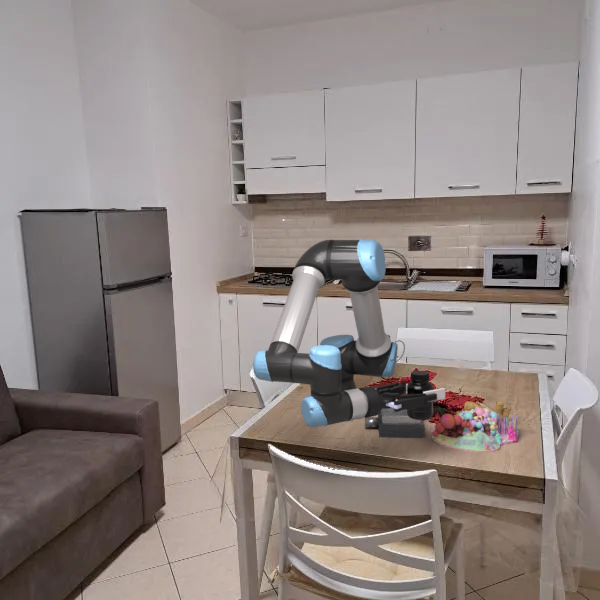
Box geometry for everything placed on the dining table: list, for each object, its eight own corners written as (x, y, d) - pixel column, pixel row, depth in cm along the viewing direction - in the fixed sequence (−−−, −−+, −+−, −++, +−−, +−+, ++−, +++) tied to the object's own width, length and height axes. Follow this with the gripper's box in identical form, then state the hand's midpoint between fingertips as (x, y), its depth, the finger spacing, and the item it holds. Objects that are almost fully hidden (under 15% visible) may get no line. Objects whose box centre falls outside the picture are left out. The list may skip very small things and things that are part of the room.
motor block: (365, 436, 163) (365, 417, 162) (365, 420, 176) (364, 402, 175) (424, 438, 161) (424, 418, 160) (419, 421, 174) (419, 403, 173)
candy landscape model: (439, 417, 178) (440, 389, 177) (518, 425, 170) (519, 396, 168) (427, 447, 155) (428, 416, 154) (518, 459, 147) (519, 426, 145)
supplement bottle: (437, 415, 149) (438, 372, 147) (424, 422, 144) (424, 378, 142) (415, 409, 153) (415, 367, 151) (401, 416, 148) (402, 373, 146)
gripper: (342, 405, 150) (413, 392, 159) (381, 430, 132) (459, 414, 141) (342, 378, 149) (413, 367, 158) (381, 400, 131) (459, 386, 140)
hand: (435, 389), depth 149 cm, fingers closed on supplement bottle, 7 cm apart
